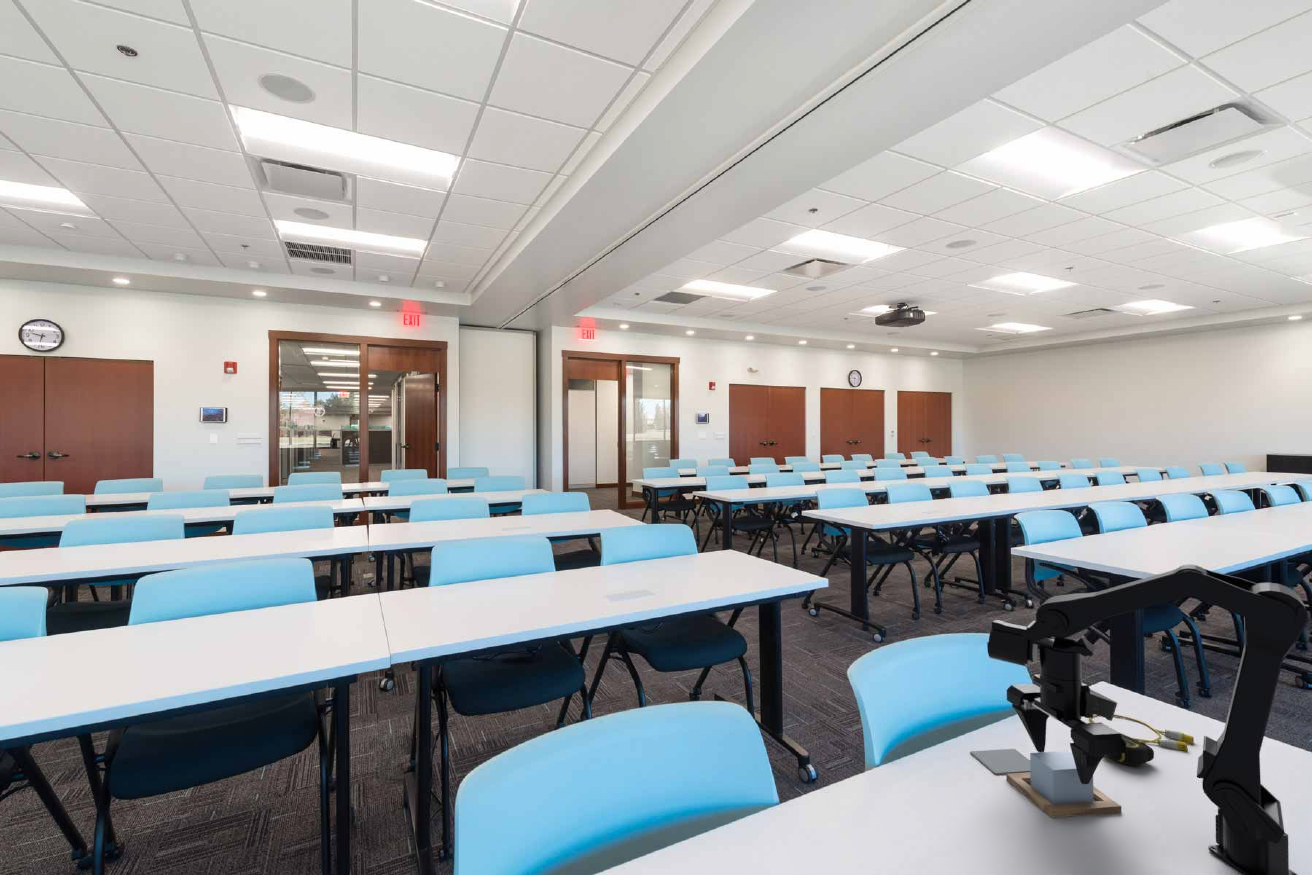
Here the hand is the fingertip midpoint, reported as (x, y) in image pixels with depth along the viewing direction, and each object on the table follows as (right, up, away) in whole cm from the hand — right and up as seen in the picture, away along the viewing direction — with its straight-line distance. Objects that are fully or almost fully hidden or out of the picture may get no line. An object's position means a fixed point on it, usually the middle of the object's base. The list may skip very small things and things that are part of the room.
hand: (1061, 766), depth 94 cm
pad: (-3, -5, +10) cm, 11 cm away
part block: (0, -5, 0) cm, 5 cm away
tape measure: (+20, -5, +11) cm, 23 cm away
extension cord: (+29, -5, +20) cm, 36 cm away
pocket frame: (0, -5, 0) cm, 5 cm away
